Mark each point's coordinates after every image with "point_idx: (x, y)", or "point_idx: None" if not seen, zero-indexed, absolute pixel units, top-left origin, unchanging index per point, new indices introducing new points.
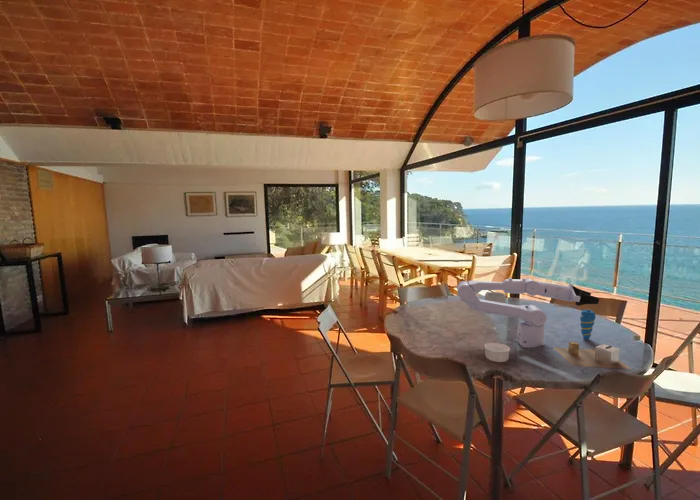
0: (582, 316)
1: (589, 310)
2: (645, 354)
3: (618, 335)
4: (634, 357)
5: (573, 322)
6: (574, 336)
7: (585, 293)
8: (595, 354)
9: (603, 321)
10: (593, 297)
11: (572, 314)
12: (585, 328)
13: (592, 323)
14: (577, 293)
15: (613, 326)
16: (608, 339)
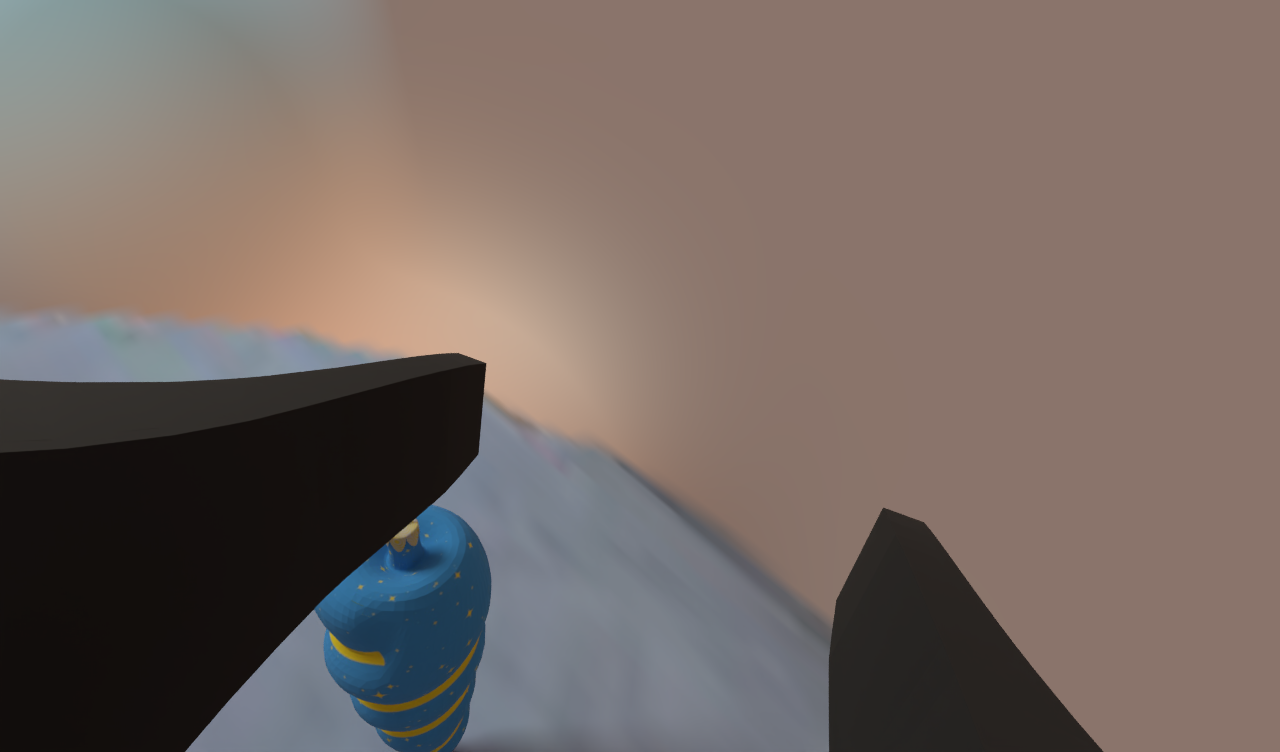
0: (377, 667)
1: (418, 539)
2: (715, 536)
3: None
4: (762, 634)
5: None
6: (275, 730)
7: (411, 427)
8: None
9: (258, 347)
10: (994, 635)
11: (30, 375)
12: (437, 719)
13: (483, 630)
14: (239, 567)
15: (339, 365)
16: None
